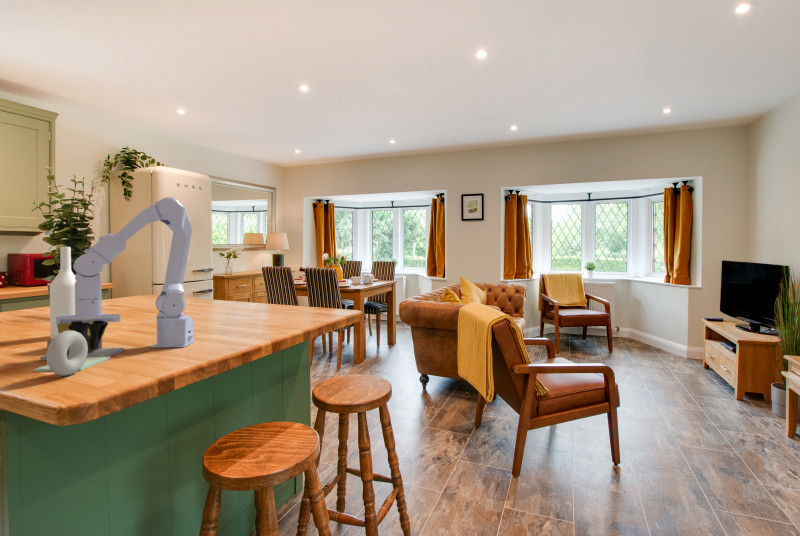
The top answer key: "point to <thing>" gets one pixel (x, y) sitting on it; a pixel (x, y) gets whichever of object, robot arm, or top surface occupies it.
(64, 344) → the donut
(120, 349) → the stand
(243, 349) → the top surface
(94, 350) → the c link
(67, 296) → the bottle
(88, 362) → the pad
